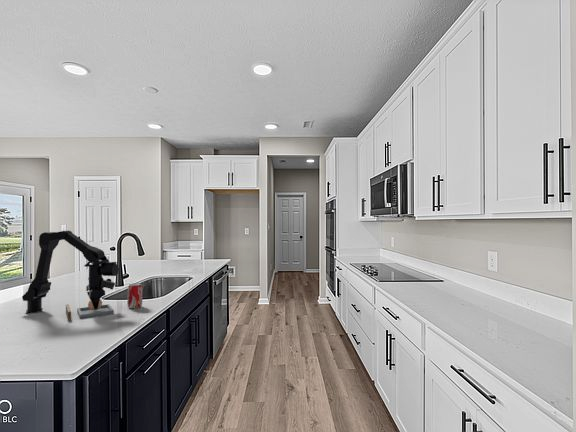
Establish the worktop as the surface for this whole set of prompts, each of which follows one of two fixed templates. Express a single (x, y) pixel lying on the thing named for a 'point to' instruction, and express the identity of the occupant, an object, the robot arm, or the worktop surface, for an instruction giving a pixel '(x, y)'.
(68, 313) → the fence
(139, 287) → the soda can
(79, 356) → the worktop surface
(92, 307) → the ball
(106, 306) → the dish
